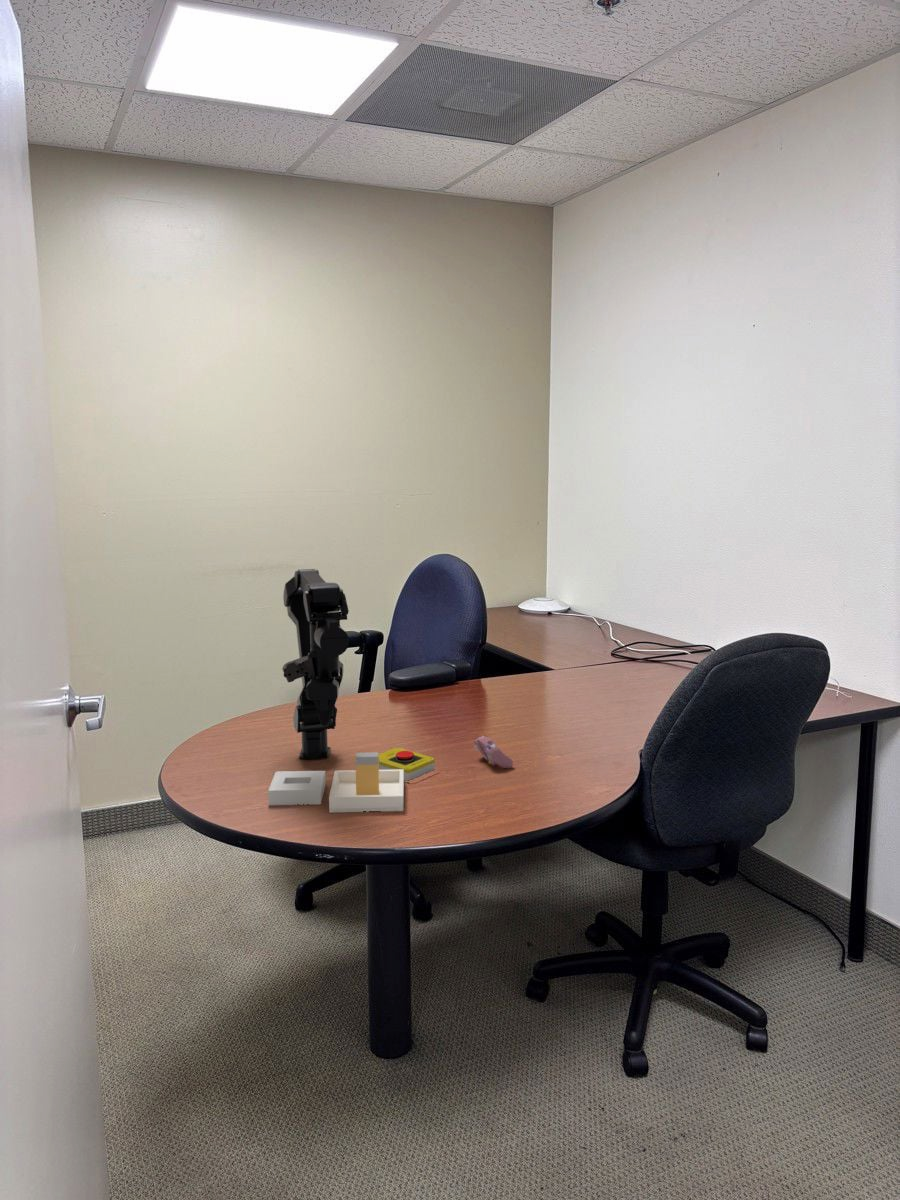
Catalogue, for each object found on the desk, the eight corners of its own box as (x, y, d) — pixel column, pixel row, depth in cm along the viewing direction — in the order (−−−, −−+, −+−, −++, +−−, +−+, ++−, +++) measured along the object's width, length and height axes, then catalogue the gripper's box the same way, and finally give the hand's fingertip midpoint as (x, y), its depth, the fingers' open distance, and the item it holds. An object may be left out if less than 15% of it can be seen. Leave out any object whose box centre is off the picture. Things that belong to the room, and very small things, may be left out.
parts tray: (335, 784, 180) (335, 770, 180) (403, 783, 181) (403, 769, 180) (329, 812, 167) (329, 797, 166) (403, 811, 167) (403, 796, 167)
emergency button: (413, 766, 180) (361, 750, 189) (413, 787, 180) (361, 770, 190) (442, 754, 187) (390, 739, 196) (442, 774, 187) (390, 758, 197)
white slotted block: (276, 785, 180) (275, 771, 179) (325, 784, 180) (325, 770, 180) (268, 805, 170) (268, 790, 169) (320, 804, 170) (320, 789, 170)
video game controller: (480, 762, 197) (467, 737, 195) (497, 751, 198) (484, 726, 196) (498, 777, 188) (485, 751, 186) (516, 766, 189) (503, 740, 187)
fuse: (357, 791, 175) (356, 752, 173) (379, 790, 175) (378, 752, 174) (356, 795, 172) (355, 757, 171) (378, 795, 173) (378, 756, 171)
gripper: (290, 635, 188) (292, 705, 191) (278, 656, 169) (281, 734, 172) (342, 634, 188) (344, 704, 191) (336, 656, 170) (338, 733, 173)
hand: (326, 718), depth 182 cm, fingers open, 9 cm apart
